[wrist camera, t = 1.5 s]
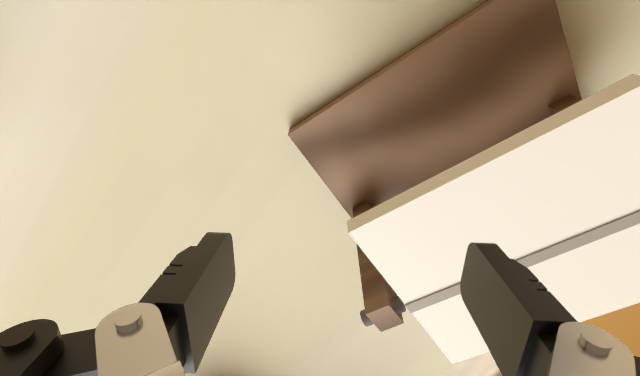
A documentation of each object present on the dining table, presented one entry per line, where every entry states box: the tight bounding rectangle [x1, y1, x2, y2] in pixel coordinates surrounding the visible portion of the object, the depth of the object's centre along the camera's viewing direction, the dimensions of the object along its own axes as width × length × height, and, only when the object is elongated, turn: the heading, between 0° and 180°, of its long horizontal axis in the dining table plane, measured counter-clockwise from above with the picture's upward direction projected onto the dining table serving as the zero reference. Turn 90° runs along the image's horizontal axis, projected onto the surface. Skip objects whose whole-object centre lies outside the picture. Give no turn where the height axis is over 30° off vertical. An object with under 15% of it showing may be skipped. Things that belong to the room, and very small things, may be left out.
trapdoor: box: [347, 74, 640, 364], centre depth 18 cm, size 14×14×1 cm
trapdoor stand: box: [288, 0, 582, 332], centre depth 23 cm, size 20×20×13 cm
